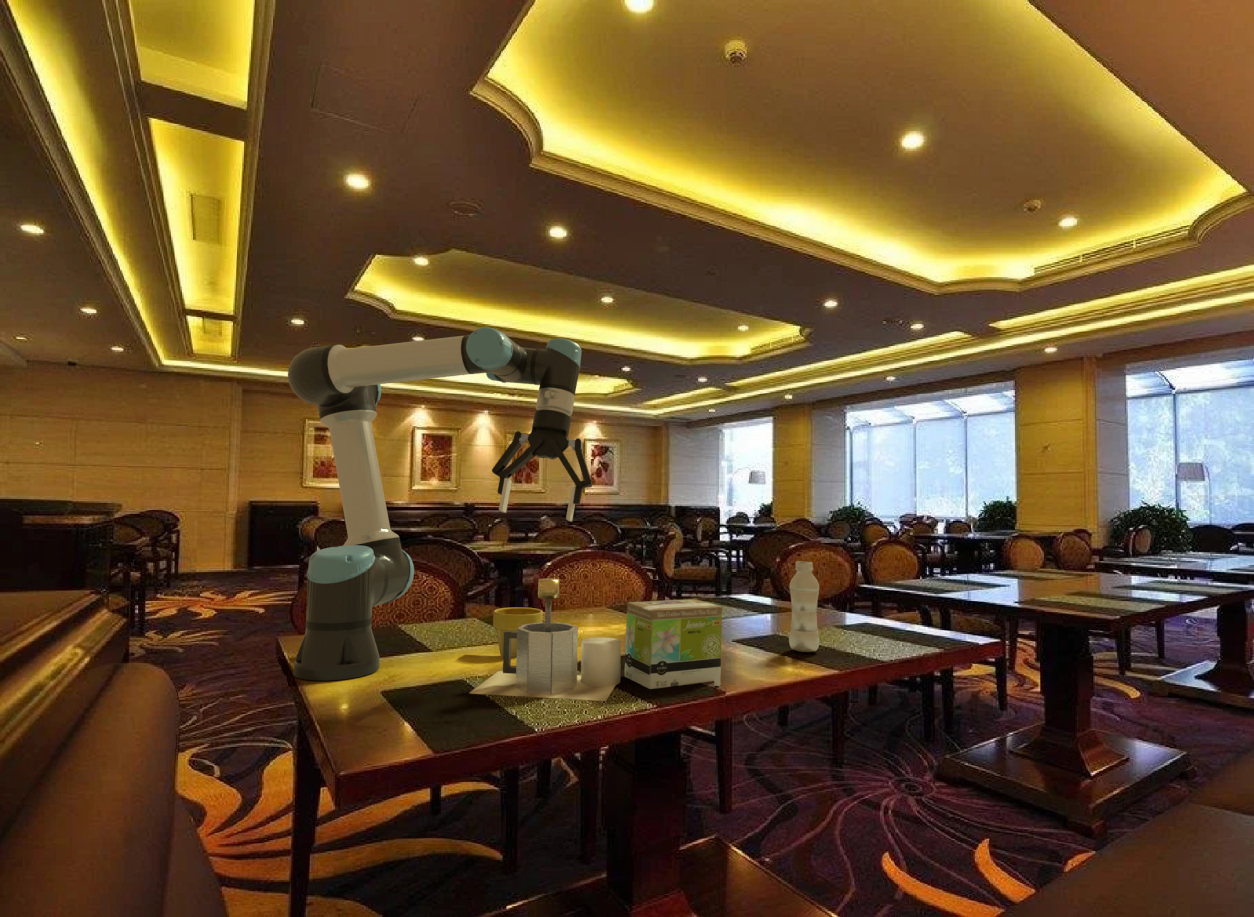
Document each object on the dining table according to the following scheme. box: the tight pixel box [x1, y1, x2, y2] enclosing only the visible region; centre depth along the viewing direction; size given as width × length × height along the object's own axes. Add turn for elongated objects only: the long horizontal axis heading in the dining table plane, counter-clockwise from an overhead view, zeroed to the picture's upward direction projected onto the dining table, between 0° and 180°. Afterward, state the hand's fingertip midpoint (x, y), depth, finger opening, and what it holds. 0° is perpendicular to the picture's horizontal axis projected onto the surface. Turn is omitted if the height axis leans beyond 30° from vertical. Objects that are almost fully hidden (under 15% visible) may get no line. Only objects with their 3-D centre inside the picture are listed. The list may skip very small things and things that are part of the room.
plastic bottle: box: [788, 560, 820, 653], centre depth 154 cm, size 6×7×20 cm
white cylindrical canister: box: [580, 636, 622, 687], centre depth 122 cm, size 7×7×7 cm
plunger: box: [537, 577, 560, 632], centre depth 118 cm, size 7×7×15 cm
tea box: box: [624, 599, 723, 690], centre depth 125 cm, size 15×10×15 cm, turn 117°
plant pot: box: [492, 606, 544, 658], centre depth 144 cm, size 10×10×10 cm
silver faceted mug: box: [502, 621, 579, 695], centre depth 118 cm, size 13×10×10 cm
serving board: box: [469, 670, 616, 702], centre depth 119 cm, size 23×15×1 cm, turn 82°
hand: (535, 516), depth 135 cm, fingers open, 13 cm apart
